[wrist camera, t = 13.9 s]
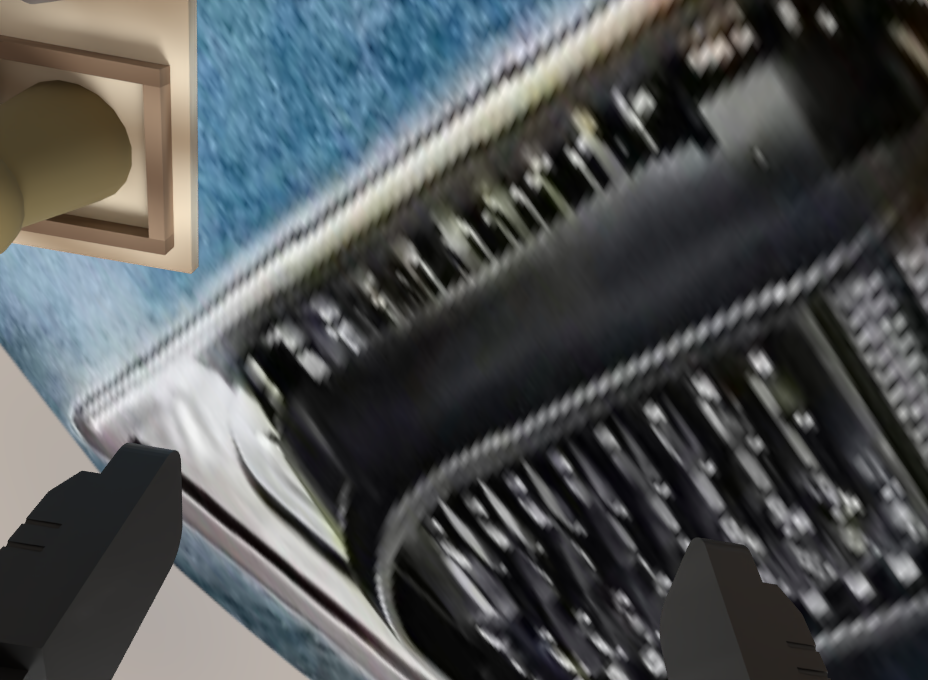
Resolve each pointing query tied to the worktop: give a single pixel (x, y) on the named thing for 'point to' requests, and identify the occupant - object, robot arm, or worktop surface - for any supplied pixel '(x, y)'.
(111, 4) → the socket plate
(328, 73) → the worktop surface
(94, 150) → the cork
